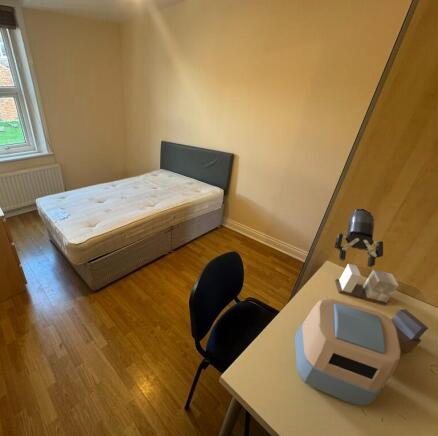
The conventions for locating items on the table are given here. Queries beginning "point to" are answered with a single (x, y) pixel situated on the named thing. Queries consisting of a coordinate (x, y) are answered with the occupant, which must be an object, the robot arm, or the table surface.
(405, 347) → the grey shelf
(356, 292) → the brown base with block
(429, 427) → the table surface
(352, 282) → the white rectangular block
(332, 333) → the alarm clock
